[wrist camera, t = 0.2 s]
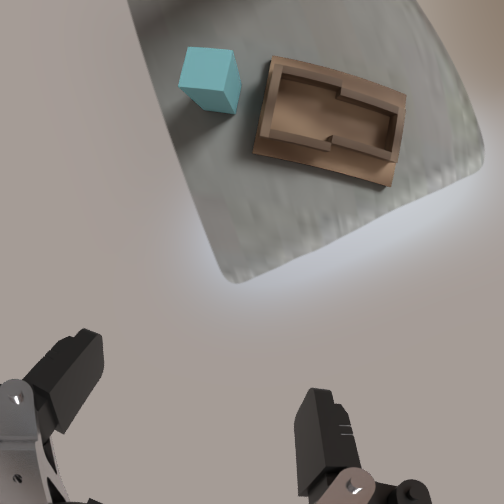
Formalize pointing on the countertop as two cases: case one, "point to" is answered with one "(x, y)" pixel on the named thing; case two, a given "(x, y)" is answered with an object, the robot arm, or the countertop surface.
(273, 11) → the countertop surface
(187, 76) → the post
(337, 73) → the keyhole board
